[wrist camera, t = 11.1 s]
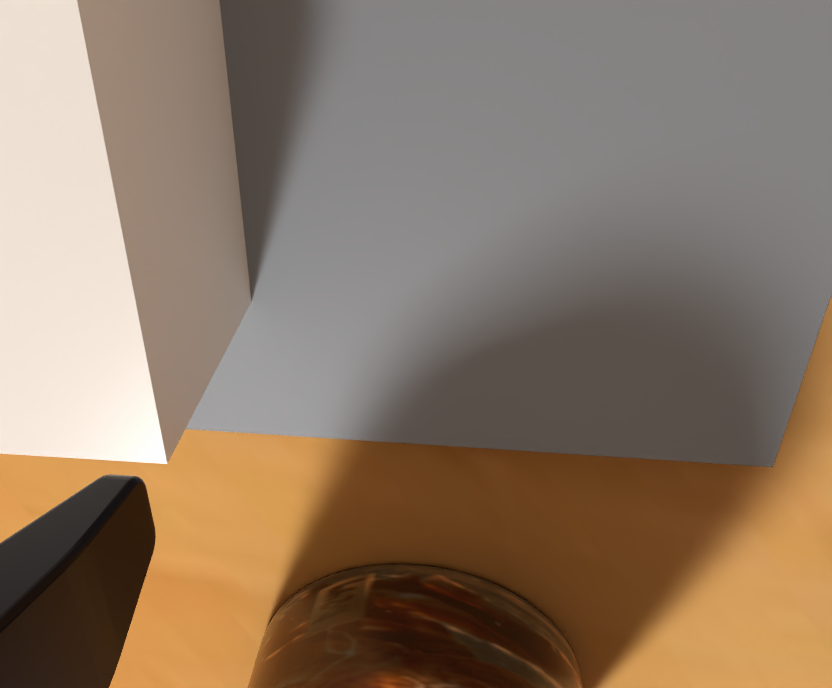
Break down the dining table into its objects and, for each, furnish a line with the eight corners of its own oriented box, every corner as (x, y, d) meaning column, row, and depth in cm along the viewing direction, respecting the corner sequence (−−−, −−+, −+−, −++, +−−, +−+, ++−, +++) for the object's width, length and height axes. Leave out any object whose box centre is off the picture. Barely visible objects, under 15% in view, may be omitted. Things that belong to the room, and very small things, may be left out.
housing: (197, -200, 14) (32, -229, 9) (251, 301, 19) (167, 463, 14) (-77, -204, 14) (-393, -235, 9) (50, 291, 19) (-104, 447, 14)
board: (1044, -479, 12) (1107, -517, 11) (756, 431, 22) (772, 467, 21) (-240, -486, 13) (-316, -522, 12) (17, 385, 23) (-10, 415, 22)
